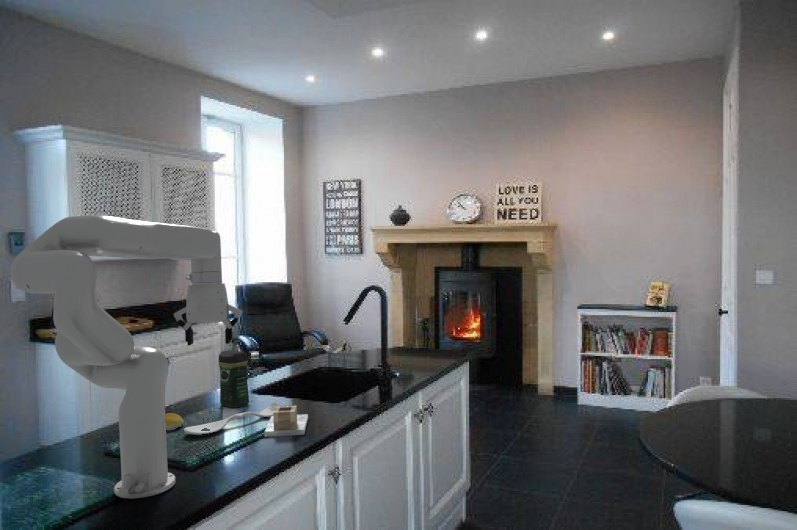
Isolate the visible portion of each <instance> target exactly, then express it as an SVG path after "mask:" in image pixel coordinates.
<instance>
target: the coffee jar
mask: <svg viewBox="0 0 797 530" xmlns="http://www.w3.org/2000/svg"><path fill="white" fill-rule="evenodd" d="M218 366H219V367H218V368H219V378H220V380H219V381H220V382H219V383H220V385H219V386H220V389H219V403H220V404H219V405H221V406H223V407H227V408H241V407H242V408H243V407H245V406H246V405H248V404H249V403H250V395H249V386H248V385H249V384H248V374H247V369H248V356H247V353H246V352H245V351H239V350H233V349H228V350H223V351H221V352H220V353H219V355H218Z"/></svg>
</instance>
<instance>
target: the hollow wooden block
mask: <svg viewBox="0 0 797 530" xmlns="http://www.w3.org/2000/svg"><path fill="white" fill-rule="evenodd" d="M297 407H298V406H297V405H291V406H285V405H284V406H281V405H279V407H276V408H275V410H274V412H273V419H274V430H285V429H295V428H296V425H297V415H298V408H297Z"/></svg>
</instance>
